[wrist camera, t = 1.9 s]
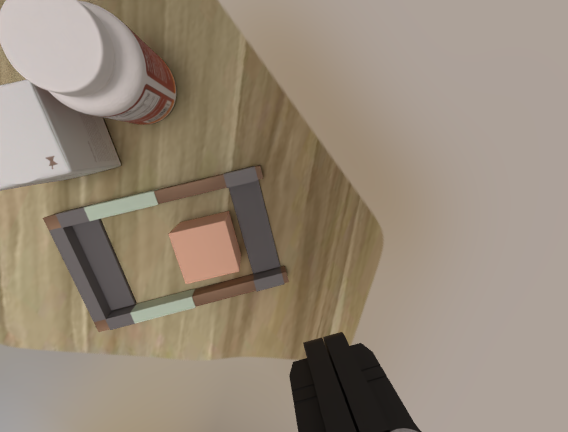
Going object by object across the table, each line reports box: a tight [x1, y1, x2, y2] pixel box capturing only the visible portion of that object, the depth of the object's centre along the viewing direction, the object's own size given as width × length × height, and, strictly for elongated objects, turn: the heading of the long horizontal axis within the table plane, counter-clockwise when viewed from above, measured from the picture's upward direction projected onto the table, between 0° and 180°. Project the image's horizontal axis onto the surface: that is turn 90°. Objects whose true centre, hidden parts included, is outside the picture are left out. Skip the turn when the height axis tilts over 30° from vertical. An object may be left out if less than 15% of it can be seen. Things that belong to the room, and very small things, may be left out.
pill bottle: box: [0, 0, 176, 125], centre depth 18 cm, size 6×6×11 cm
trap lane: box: [43, 165, 289, 332], centre depth 27 cm, size 12×20×2 cm, turn 103°
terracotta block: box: [169, 211, 241, 284], centre depth 26 cm, size 5×5×4 cm
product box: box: [0, 80, 121, 191], centre depth 21 cm, size 6×6×7 cm
